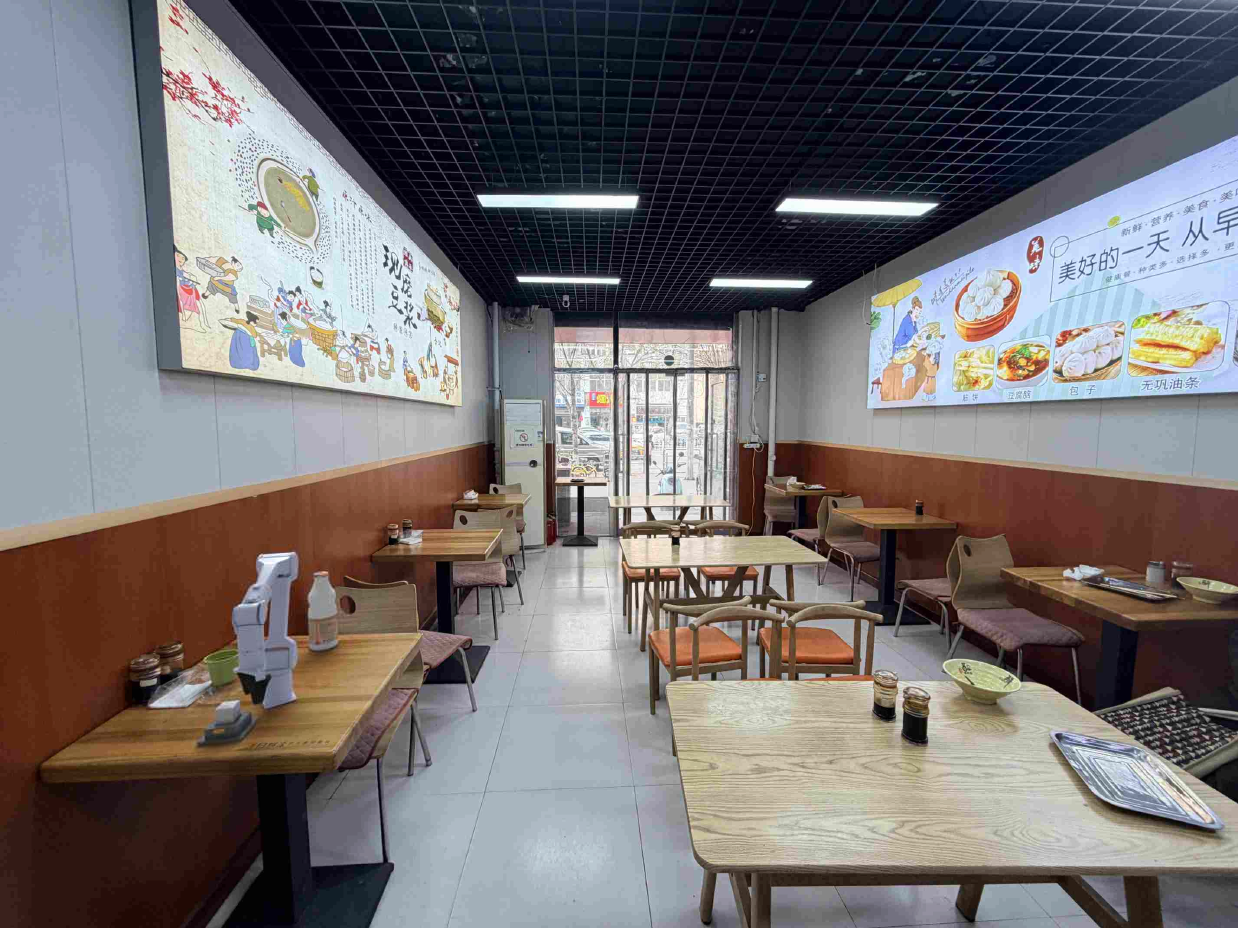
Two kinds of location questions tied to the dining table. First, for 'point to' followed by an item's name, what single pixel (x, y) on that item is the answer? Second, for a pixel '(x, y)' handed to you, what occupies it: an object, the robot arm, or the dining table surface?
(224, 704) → the post
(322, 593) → the fruit juice
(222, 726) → the stand base
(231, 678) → the plant pot
